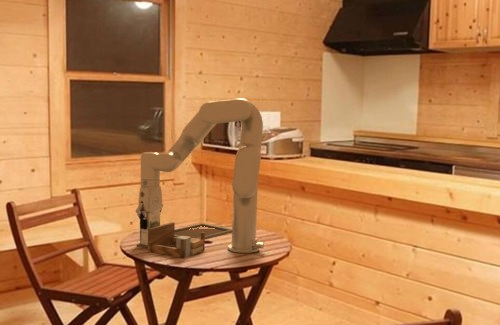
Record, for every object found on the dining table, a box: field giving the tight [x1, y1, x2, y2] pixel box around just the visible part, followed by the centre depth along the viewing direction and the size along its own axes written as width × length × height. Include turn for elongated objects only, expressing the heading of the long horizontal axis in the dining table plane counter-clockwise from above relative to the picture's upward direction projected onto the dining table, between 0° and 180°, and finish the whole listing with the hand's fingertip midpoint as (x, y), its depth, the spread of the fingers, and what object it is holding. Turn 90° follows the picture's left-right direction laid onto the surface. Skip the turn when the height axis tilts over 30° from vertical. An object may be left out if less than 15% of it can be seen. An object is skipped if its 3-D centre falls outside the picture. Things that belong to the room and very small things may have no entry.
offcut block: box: [175, 236, 191, 258], centre depth 221 cm, size 4×4×7 cm
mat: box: [136, 243, 148, 249], centre depth 234 cm, size 7×7×1 cm
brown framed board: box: [174, 222, 232, 240], centre depth 259 cm, size 19×2×30 cm
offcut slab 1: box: [191, 238, 204, 249], centre depth 226 cm, size 5×6×2 cm
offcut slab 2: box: [190, 246, 204, 256], centre depth 226 cm, size 5×6×2 cm
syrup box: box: [139, 209, 161, 245], centre depth 233 cm, size 6×6×14 cm
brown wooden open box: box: [147, 221, 206, 259], centre depth 227 cm, size 16×16×9 cm
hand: (149, 226), depth 233 cm, fingers open, 7 cm apart
